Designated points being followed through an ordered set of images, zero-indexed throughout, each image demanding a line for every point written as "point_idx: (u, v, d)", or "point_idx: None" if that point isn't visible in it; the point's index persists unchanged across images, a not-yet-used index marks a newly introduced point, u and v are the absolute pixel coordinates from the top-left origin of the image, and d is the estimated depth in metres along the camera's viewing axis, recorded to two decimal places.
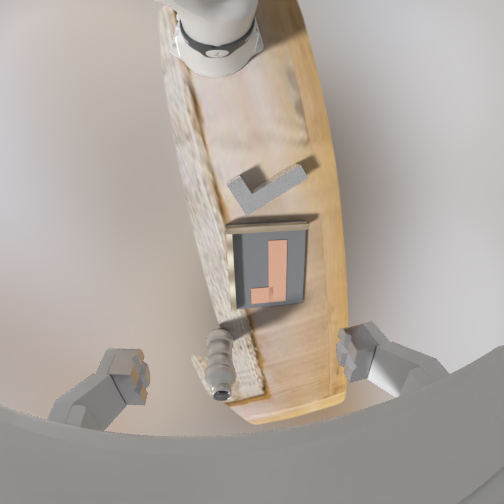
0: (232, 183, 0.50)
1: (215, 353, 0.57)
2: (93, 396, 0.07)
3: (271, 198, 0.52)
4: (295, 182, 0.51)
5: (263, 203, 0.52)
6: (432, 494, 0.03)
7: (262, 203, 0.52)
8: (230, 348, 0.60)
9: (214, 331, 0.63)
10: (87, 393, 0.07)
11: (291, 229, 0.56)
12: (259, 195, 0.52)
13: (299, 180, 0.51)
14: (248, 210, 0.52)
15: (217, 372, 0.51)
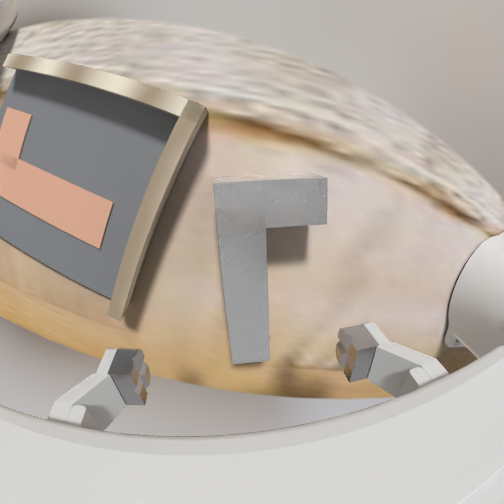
0: (323, 194, 0.17)
1: None
2: (93, 396, 0.07)
3: (226, 271, 0.18)
4: (236, 338, 0.20)
5: (223, 245, 0.17)
6: (432, 494, 0.03)
7: (224, 243, 0.17)
8: None
9: (10, 14, 0.09)
10: (87, 394, 0.07)
11: (119, 278, 0.18)
12: (249, 246, 0.17)
13: (236, 347, 0.20)
14: (225, 194, 0.16)
15: None
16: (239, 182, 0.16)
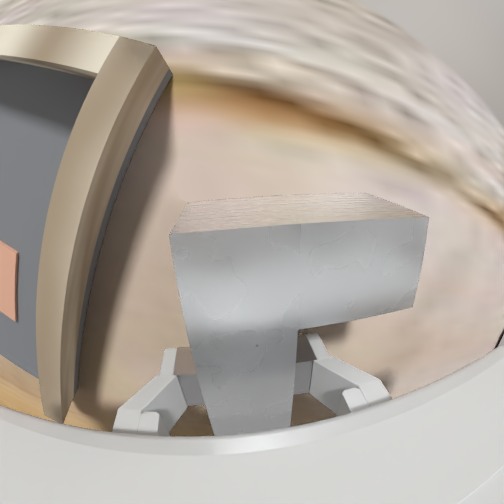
0: (417, 251, 0.07)
1: None
2: (160, 400, 0.07)
3: (213, 401, 0.08)
4: None
5: (204, 364, 0.07)
6: (432, 494, 0.03)
7: (206, 360, 0.07)
8: None
9: None
10: (155, 398, 0.07)
11: (42, 379, 0.08)
12: (260, 362, 0.08)
13: None
14: (200, 262, 0.06)
15: None
16: (237, 230, 0.06)
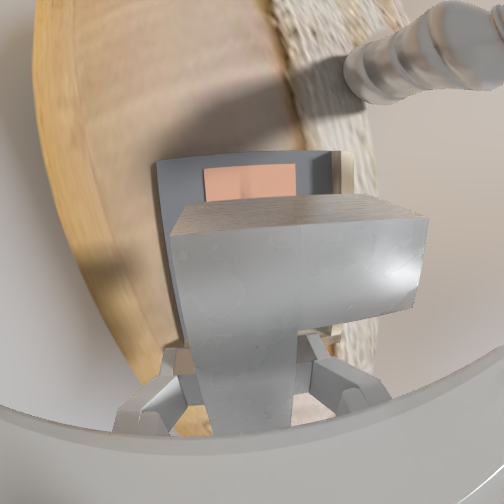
0: (417, 252, 0.07)
1: None
2: (160, 400, 0.07)
3: (213, 402, 0.08)
4: None
5: (204, 365, 0.07)
6: (432, 494, 0.03)
7: (206, 361, 0.07)
8: (381, 70, 0.16)
9: None
10: (155, 398, 0.07)
11: None
12: (260, 364, 0.08)
13: None
14: (200, 263, 0.06)
15: (494, 82, 0.08)
16: (237, 231, 0.06)
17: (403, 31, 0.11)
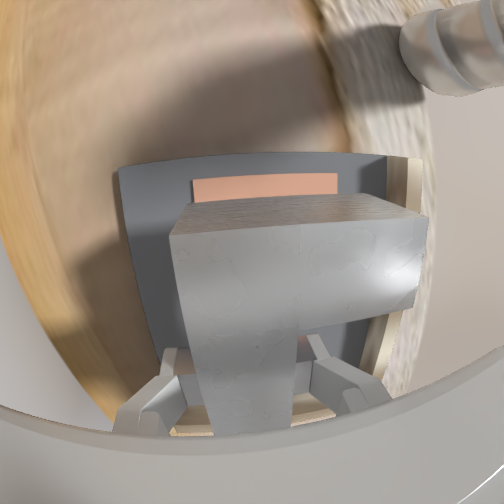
0: (418, 251, 0.07)
1: None
2: (160, 400, 0.07)
3: (213, 402, 0.08)
4: None
5: (204, 365, 0.07)
6: (432, 494, 0.03)
7: (206, 361, 0.07)
8: (469, 45, 0.07)
9: (455, 95, 0.12)
10: (155, 398, 0.07)
11: None
12: (260, 364, 0.08)
13: None
14: (200, 263, 0.06)
15: None
16: (237, 231, 0.06)
17: None
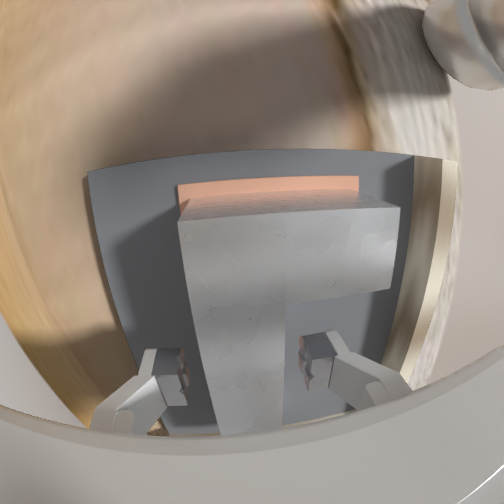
0: (391, 237, 0.08)
1: None
2: (137, 399, 0.07)
3: (212, 373, 0.09)
4: None
5: (205, 336, 0.09)
6: (432, 494, 0.03)
7: (207, 332, 0.09)
8: None
9: (485, 89, 0.09)
10: (132, 397, 0.07)
11: None
12: (254, 335, 0.09)
13: None
14: (202, 244, 0.08)
15: None
16: (233, 218, 0.08)
17: None
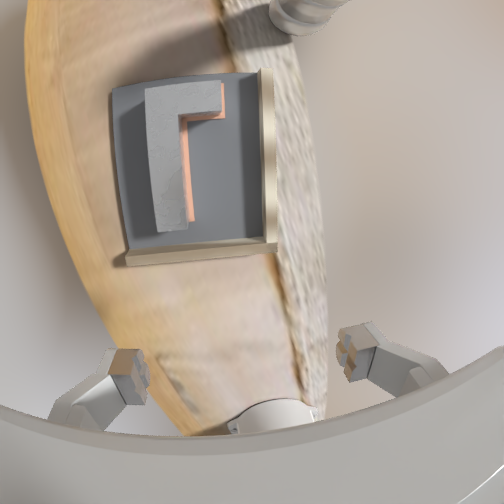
0: (218, 90, 0.21)
1: (334, 5, 0.15)
2: (93, 396, 0.07)
3: (150, 147, 0.22)
4: (159, 205, 0.25)
5: (149, 128, 0.22)
6: (432, 494, 0.03)
7: (150, 126, 0.22)
8: (289, 0, 0.17)
9: (308, 34, 0.22)
10: (87, 393, 0.07)
11: (157, 255, 0.29)
12: (166, 127, 0.22)
13: (159, 214, 0.25)
14: (151, 94, 0.21)
15: None
16: (161, 86, 0.20)
17: None
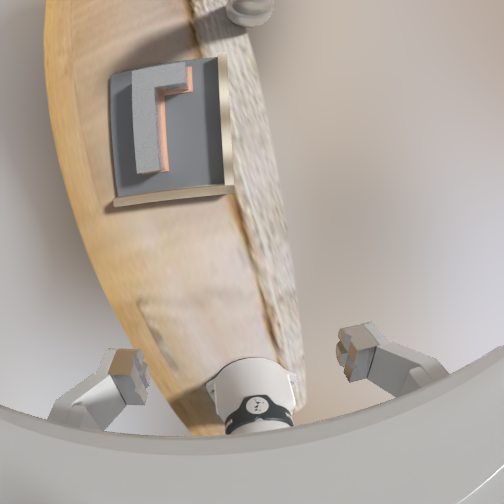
0: (183, 68, 0.28)
1: None
2: (93, 396, 0.07)
3: (134, 110, 0.29)
4: (138, 152, 0.31)
5: (134, 97, 0.28)
6: (432, 494, 0.03)
7: (134, 96, 0.28)
8: (234, 0, 0.23)
9: (256, 24, 0.28)
10: (87, 393, 0.07)
11: (137, 196, 0.34)
12: (146, 96, 0.28)
13: (139, 159, 0.31)
14: (136, 75, 0.27)
15: None
16: (143, 69, 0.27)
17: None
